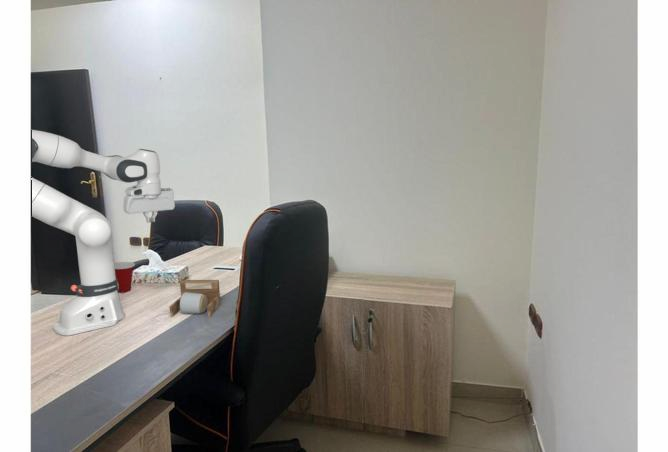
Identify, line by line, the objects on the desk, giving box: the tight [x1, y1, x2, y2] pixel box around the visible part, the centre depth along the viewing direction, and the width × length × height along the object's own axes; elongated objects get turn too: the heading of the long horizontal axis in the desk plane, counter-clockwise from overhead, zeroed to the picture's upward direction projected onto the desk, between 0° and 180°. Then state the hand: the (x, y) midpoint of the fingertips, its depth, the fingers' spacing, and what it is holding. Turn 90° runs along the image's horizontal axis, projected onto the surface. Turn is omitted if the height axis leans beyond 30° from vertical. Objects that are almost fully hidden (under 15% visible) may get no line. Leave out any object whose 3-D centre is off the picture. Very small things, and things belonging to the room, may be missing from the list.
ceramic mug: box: [180, 292, 208, 315], centre depth 167 cm, size 11×8×8 cm
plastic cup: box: [114, 261, 136, 294], centre depth 194 cm, size 11×11×12 cm
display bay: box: [169, 279, 221, 318], centre depth 167 cm, size 13×15×10 cm
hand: (150, 222), depth 187 cm, fingers closed
